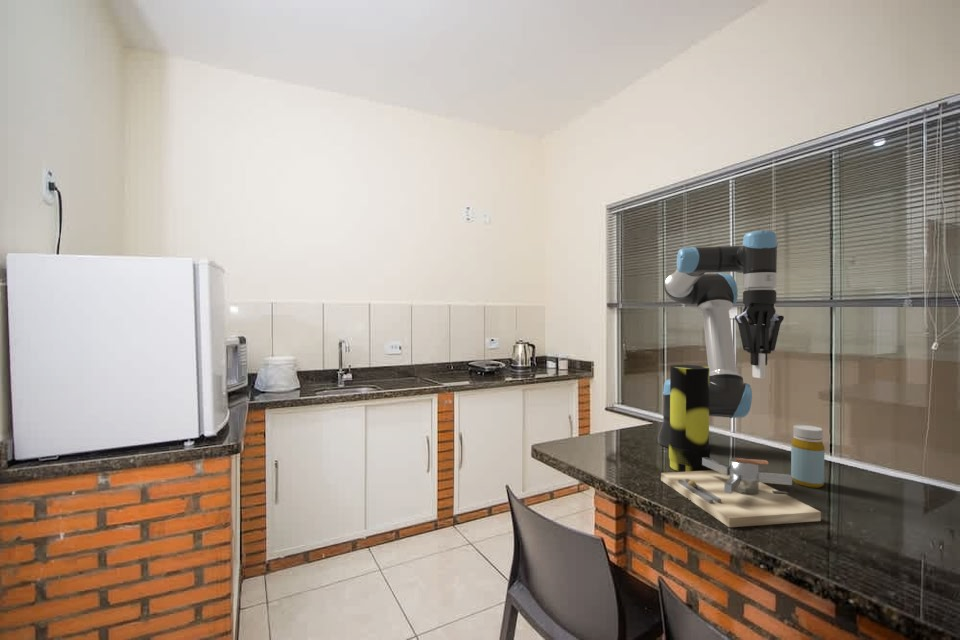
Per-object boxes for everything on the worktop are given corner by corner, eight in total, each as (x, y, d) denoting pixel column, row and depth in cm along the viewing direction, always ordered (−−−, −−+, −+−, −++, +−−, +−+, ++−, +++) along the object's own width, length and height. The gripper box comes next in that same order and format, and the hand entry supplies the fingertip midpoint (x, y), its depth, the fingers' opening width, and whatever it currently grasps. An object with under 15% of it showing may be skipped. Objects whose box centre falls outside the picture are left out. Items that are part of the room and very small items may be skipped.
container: (660, 464, 127) (661, 365, 127) (689, 460, 131) (689, 364, 131) (688, 477, 117) (689, 369, 117) (718, 473, 121) (719, 368, 120)
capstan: (725, 503, 96) (725, 471, 96) (701, 472, 115) (701, 445, 115) (812, 511, 92) (812, 478, 92) (772, 478, 111) (772, 450, 111)
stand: (660, 480, 115) (660, 466, 115) (737, 476, 118) (737, 462, 118) (729, 527, 90) (729, 509, 90) (824, 520, 93) (824, 503, 93)
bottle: (830, 489, 109) (830, 431, 109) (799, 487, 111) (800, 430, 111) (814, 479, 116) (815, 424, 116) (786, 477, 118) (786, 423, 117)
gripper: (748, 288, 109) (747, 380, 109) (793, 289, 110) (792, 379, 111) (727, 290, 116) (726, 375, 116) (769, 290, 118) (769, 375, 118)
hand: (758, 377), depth 113 cm, fingers closed
